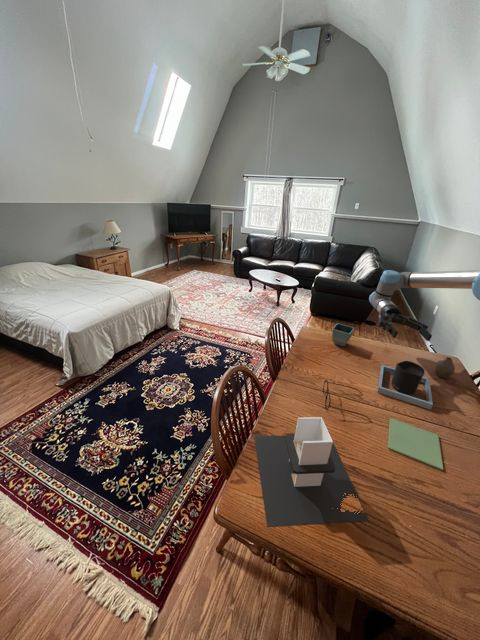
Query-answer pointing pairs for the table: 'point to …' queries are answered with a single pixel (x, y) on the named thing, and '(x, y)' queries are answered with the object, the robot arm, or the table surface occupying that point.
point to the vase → (445, 368)
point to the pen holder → (407, 377)
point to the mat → (415, 443)
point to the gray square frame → (404, 397)
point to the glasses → (330, 398)
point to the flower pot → (341, 334)
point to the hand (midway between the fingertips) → (412, 336)
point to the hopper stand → (304, 477)
